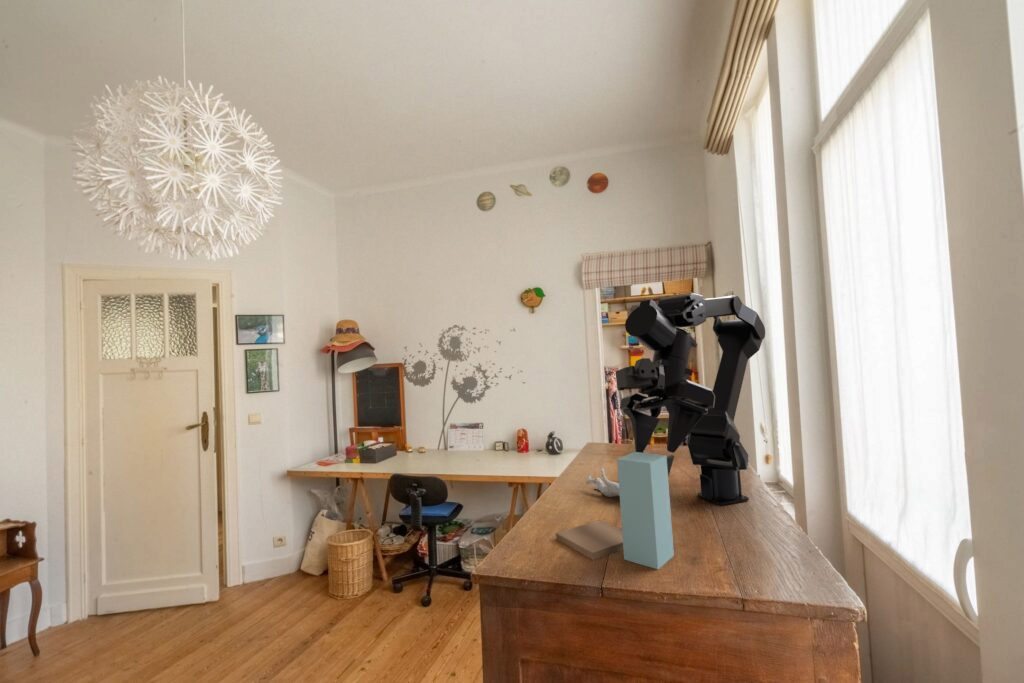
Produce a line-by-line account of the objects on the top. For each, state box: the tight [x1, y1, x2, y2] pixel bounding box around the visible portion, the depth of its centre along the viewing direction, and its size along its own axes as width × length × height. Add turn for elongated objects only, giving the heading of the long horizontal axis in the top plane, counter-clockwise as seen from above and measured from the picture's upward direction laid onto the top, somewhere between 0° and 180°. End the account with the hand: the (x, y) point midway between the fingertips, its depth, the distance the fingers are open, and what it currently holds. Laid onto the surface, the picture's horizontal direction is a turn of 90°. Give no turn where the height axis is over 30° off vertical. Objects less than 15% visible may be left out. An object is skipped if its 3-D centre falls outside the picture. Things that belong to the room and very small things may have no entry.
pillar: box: [616, 451, 675, 570], centre depth 63 cm, size 5×5×14 cm
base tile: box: [555, 519, 623, 561], centre depth 69 cm, size 9×9×2 cm
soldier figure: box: [585, 467, 620, 498], centre depth 90 cm, size 8×5×12 cm
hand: (653, 452), depth 70 cm, fingers open, 9 cm apart
